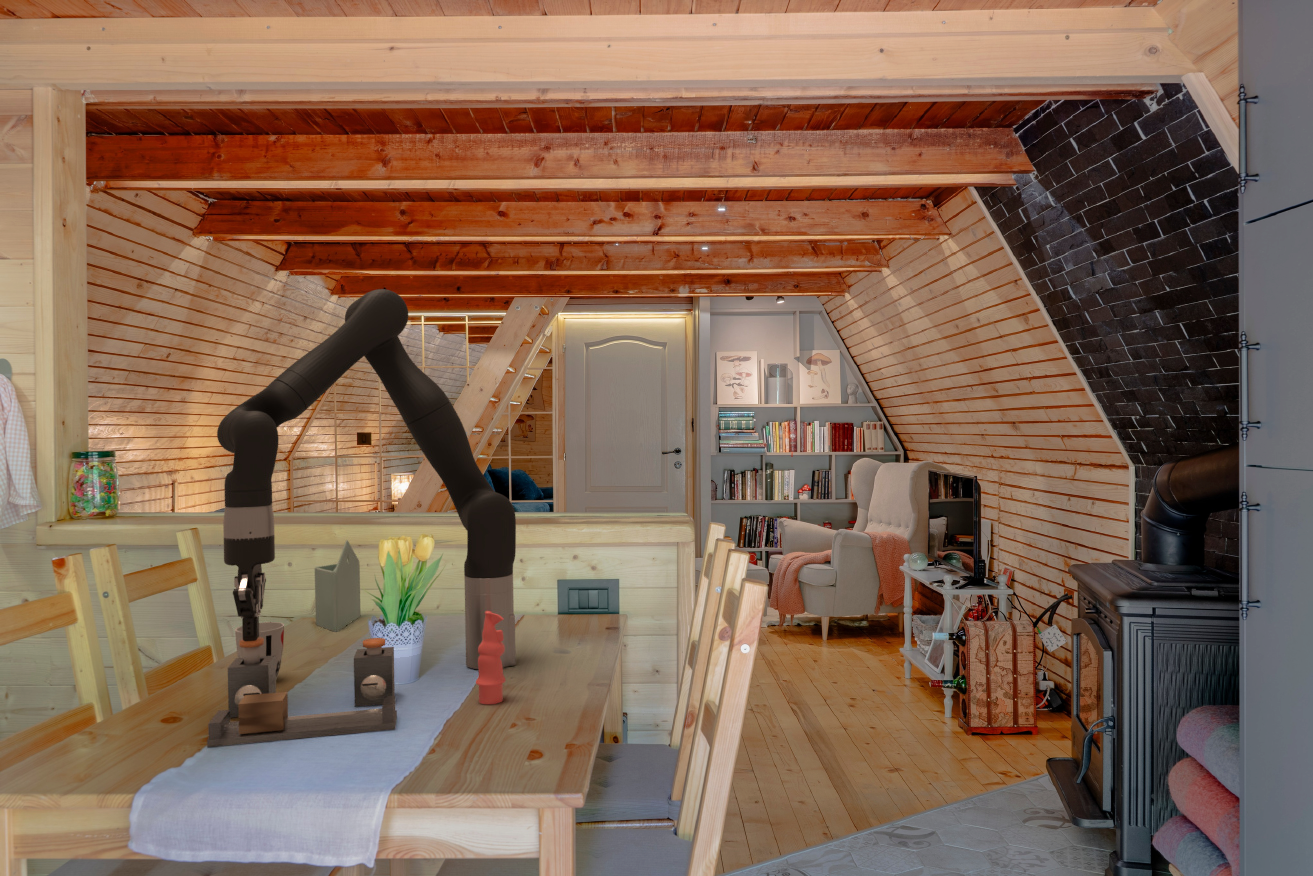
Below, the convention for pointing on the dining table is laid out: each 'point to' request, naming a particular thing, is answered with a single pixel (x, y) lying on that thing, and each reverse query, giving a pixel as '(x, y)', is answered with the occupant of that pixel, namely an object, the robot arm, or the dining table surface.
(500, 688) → the figurine
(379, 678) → the cabinet
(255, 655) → the plunger
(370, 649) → the plunger
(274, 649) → the cup
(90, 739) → the dining table surface
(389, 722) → the rail
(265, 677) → the cabinet
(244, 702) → the carriage
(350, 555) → the planter
